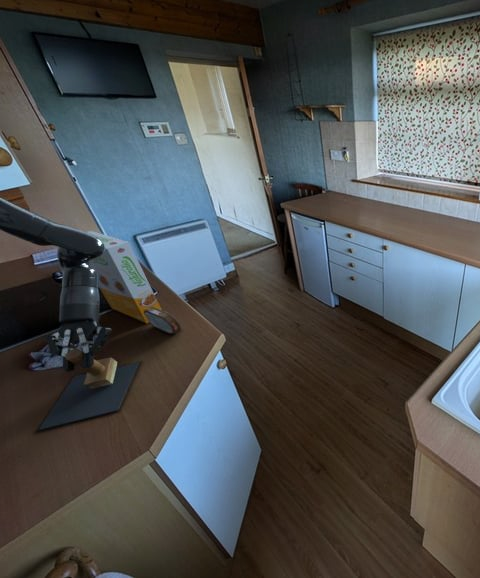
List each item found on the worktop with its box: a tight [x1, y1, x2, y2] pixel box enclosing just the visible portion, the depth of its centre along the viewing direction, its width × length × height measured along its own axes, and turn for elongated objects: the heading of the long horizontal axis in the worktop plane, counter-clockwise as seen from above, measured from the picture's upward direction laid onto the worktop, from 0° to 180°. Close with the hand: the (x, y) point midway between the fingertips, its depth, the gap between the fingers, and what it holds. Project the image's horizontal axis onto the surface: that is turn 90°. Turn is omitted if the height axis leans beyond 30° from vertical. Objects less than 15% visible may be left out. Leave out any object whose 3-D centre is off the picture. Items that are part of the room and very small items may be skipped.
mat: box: [38, 362, 140, 432], centre depth 81 cm, size 16×18×1 cm
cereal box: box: [87, 230, 162, 324], centre depth 106 cm, size 22×6×30 cm, turn 65°
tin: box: [144, 306, 182, 335], centre depth 103 cm, size 15×3×8 cm, turn 65°
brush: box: [65, 348, 118, 389], centre depth 80 cm, size 5×7×13 cm
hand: (78, 369), depth 76 cm, fingers closed on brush, 3 cm apart
